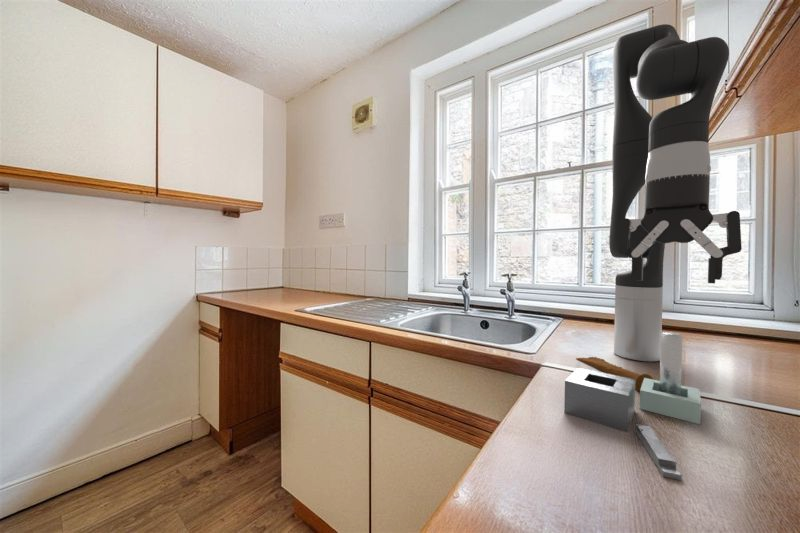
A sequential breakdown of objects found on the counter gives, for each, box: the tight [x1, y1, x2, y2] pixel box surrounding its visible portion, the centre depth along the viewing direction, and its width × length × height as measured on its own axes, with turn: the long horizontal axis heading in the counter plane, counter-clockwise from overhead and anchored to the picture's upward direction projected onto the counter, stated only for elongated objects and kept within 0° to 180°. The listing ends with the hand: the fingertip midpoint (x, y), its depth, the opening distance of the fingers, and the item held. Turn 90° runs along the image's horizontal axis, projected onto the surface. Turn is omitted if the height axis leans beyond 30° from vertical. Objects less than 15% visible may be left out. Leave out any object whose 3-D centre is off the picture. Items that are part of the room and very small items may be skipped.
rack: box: [639, 378, 702, 425], centre depth 50 cm, size 7×7×3 cm
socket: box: [563, 367, 636, 432], centre depth 49 cm, size 8×8×5 cm
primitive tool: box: [575, 356, 654, 392], centre depth 66 cm, size 19×6×4 cm, turn 2°
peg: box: [659, 331, 683, 396], centre depth 50 cm, size 3×3×12 cm
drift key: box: [635, 423, 683, 481], centre depth 38 cm, size 9×2×1 cm, turn 158°
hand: (673, 281), depth 50 cm, fingers open, 8 cm apart
